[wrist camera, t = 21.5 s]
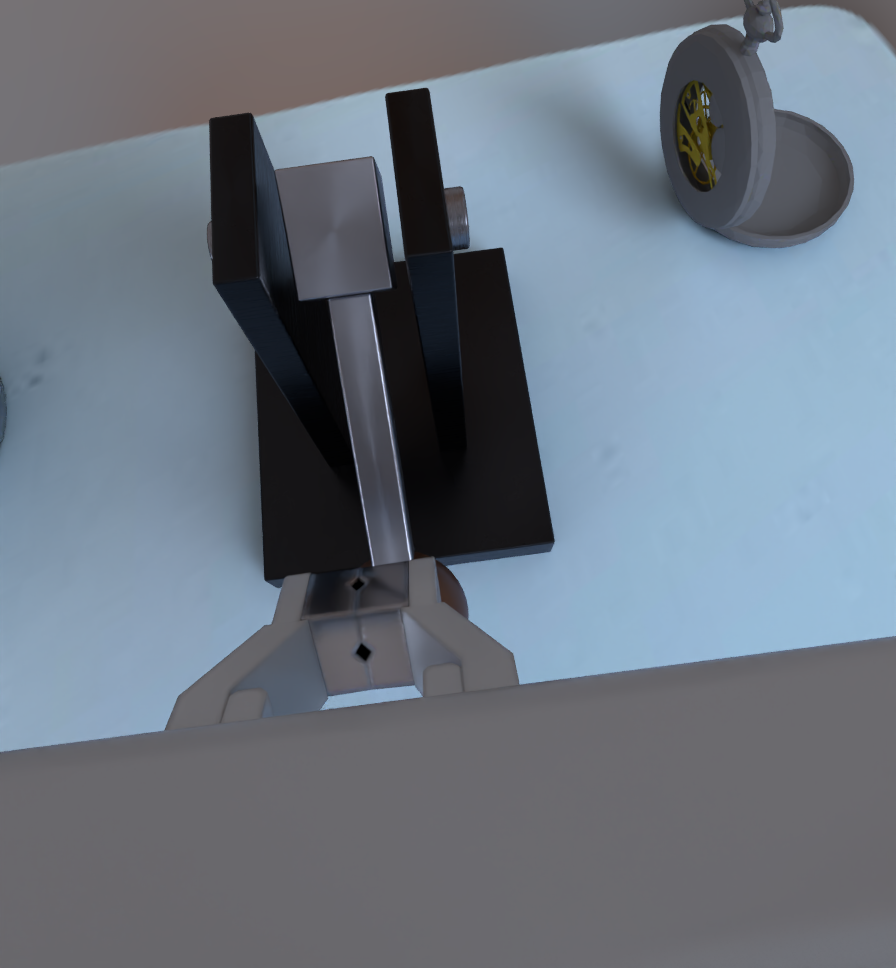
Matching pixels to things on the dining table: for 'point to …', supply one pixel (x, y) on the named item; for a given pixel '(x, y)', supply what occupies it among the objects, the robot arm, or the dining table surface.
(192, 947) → the robot arm
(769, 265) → the dining table surface
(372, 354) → the tap lever
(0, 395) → the grey embossed pot
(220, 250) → the black lever stand
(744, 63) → the pocket watch
